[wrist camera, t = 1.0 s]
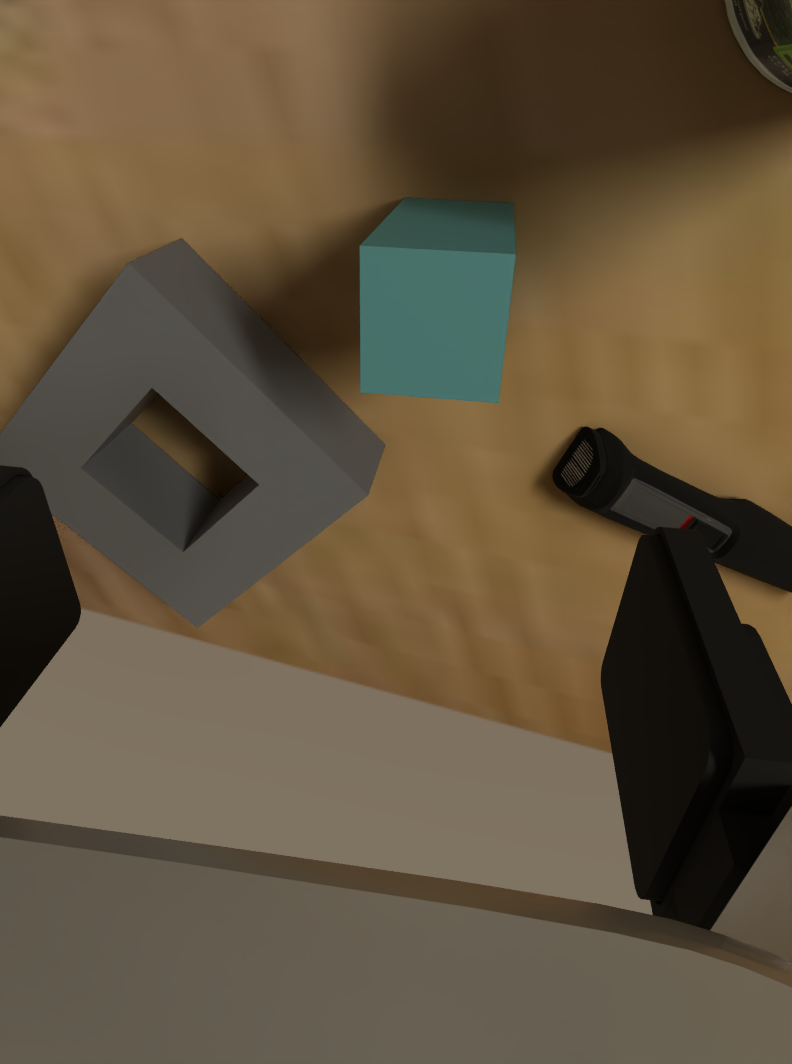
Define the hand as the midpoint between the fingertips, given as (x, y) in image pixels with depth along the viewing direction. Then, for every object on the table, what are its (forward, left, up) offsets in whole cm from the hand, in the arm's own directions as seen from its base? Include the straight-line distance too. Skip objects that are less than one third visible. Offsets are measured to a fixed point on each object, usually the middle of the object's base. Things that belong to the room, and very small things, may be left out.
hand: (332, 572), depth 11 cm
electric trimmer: (-14, +11, -22) cm, 28 cm away
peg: (-1, 0, -22) cm, 22 cm away
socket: (+11, +9, -22) cm, 26 cm away
